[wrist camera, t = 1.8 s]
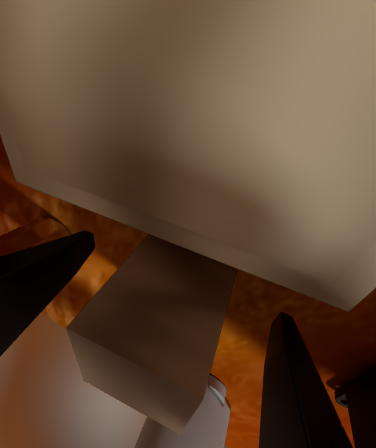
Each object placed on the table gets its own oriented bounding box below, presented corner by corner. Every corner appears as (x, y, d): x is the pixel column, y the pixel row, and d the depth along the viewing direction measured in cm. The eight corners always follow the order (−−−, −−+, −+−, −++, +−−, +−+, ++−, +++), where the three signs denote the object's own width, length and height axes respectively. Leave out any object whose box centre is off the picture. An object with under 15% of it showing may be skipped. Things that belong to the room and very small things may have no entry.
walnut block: (238, 264, 11) (203, 398, 7) (215, 317, 14) (179, 434, 10) (150, 231, 12) (66, 327, 8) (146, 286, 15) (83, 380, 10)
